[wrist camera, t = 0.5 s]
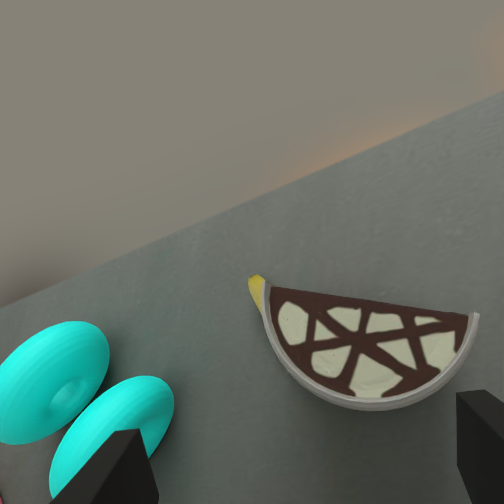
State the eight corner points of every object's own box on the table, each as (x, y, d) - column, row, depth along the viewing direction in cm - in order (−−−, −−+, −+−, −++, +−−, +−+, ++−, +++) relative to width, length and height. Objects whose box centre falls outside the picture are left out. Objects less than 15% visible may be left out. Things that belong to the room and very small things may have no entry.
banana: (321, 363, 35) (314, 362, 31) (302, 376, 35) (292, 377, 31) (264, 274, 37) (251, 264, 34) (246, 286, 38) (231, 278, 34)
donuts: (111, 319, 40) (29, 305, 31) (199, 389, 37) (137, 397, 27) (45, 419, 39) (-59, 436, 30) (129, 499, 36) (40, 545, 27)
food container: (274, 381, 35) (235, 387, 26) (287, 301, 36) (255, 279, 27) (448, 418, 32) (476, 440, 22) (457, 328, 33) (488, 313, 23)
